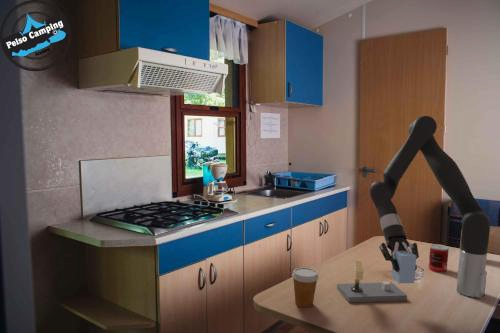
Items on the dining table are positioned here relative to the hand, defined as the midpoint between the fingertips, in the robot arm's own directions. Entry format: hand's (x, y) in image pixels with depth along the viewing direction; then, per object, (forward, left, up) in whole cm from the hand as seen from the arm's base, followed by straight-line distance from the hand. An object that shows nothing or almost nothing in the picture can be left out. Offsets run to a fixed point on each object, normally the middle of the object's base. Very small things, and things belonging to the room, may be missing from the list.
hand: (406, 270), depth 138 cm
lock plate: (+15, -3, -15) cm, 21 cm away
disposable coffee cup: (+26, +24, -15) cm, 38 cm away
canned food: (+9, -51, -15) cm, 54 cm away
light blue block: (+2, -1, -4) cm, 5 cm away
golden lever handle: (+15, +6, -12) cm, 20 cm away
